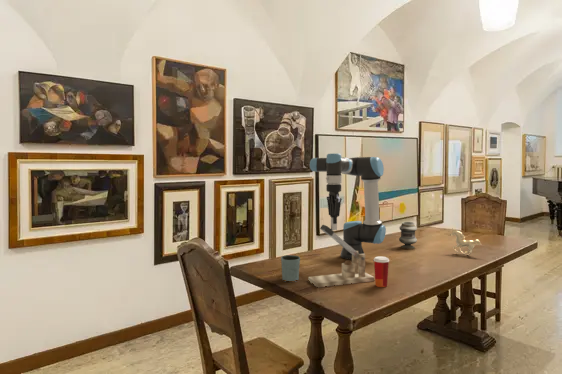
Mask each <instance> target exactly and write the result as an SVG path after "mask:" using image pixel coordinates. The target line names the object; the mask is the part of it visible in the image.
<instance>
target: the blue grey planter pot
mask: <svg viewBox="0 0 562 374" xmlns="http://www.w3.org/2000/svg"><path fill="white" fill-rule="evenodd" d="M280 259H281V261H280V262H281V277H282V281H283V280H286V281H295V280H298V281H299V276H300V263H301V257H300V256H299V255H293V254H292V255H291V254H290V255H288V254H287V255H282V256H281V257H280ZM286 281H285V282H286ZM295 282H296V281H295Z"/></svg>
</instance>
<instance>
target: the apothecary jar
mask: <svg viewBox="0 0 562 374" xmlns="http://www.w3.org/2000/svg"><path fill="white" fill-rule="evenodd" d="M398 228H399V230H400V237H399V238H398V240H399V242H400V243H401V244H403V245H401V246H400V248H401V249H405V250H414V249H416V247H415V246H414V244H416V243H417V242H418V239H417V237H416V232H417V230H418V228H417V226H416V225H415V222H414V221H413V222H412V221H403V222H401V225H400V226H399V227H398Z"/></svg>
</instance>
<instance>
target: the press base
mask: <svg viewBox="0 0 562 374" xmlns="http://www.w3.org/2000/svg"><path fill="white" fill-rule="evenodd" d="M357 252H358V251H357ZM307 278H308V280H309V281H310V284H312V283H313V284H314V285H313V284H312V285H313V286H315V287H316V288H317V287H318V288H326V287H325V286H327V287H334V285H335V286H344V285H349V284H351V283H352V284H358V283H359V284H360V283H366V282H367V283H370V282H375V276H373V275H371V274H369V273H368V272H366V253H364V254H359V257H358V259H357V258H355V257H354V256H353V255H352V260H351V259H346V260H345V261H344V262H342V263H341V272H340V273H334V274H333V273H332V274H325V275H315V276H314V275H313V276H308V277H307ZM309 281H308V282H309ZM343 284H344V285H343Z"/></svg>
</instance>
